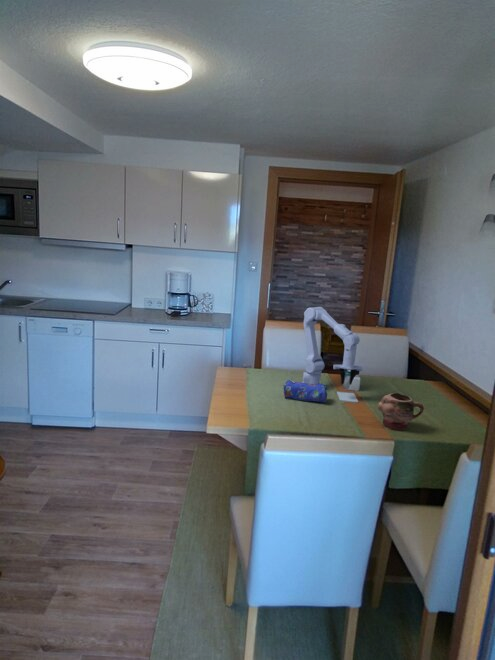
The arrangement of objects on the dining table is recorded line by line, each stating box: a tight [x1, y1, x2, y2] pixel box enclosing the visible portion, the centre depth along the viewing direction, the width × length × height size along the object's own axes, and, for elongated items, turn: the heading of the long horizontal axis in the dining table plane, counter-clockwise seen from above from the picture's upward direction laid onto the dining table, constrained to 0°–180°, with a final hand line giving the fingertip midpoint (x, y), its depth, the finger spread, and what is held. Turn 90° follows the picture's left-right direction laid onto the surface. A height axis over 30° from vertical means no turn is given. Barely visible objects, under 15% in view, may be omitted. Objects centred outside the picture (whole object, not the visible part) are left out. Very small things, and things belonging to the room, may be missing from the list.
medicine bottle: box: [345, 370, 361, 392], centre depth 240 cm, size 7×7×12 cm
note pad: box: [336, 390, 359, 404], centre depth 226 cm, size 9×13×1 cm
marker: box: [342, 370, 351, 390], centre depth 221 cm, size 4×4×8 cm
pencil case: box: [282, 379, 328, 404], centre depth 218 cm, size 22×9×10 cm, turn 77°
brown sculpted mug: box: [376, 392, 425, 431], centre depth 193 cm, size 20×12×14 cm, turn 93°
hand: (346, 383), depth 221 cm, fingers closed on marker, 3 cm apart
